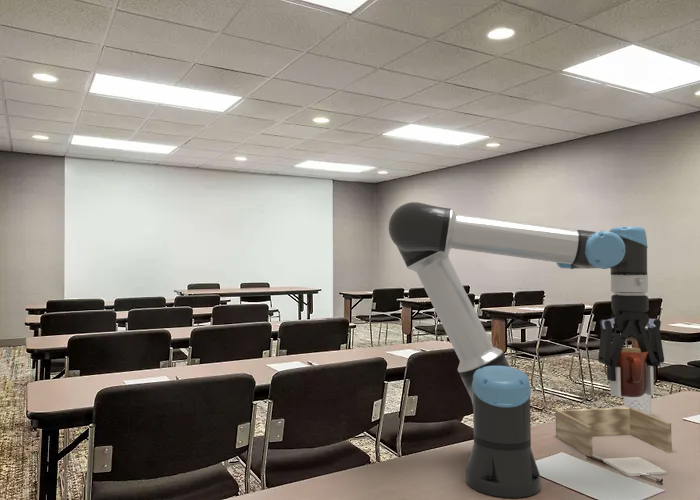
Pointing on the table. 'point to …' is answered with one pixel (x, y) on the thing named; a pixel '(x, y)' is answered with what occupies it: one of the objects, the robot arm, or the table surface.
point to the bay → (610, 427)
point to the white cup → (639, 403)
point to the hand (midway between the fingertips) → (632, 394)
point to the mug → (632, 372)
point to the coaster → (634, 466)
